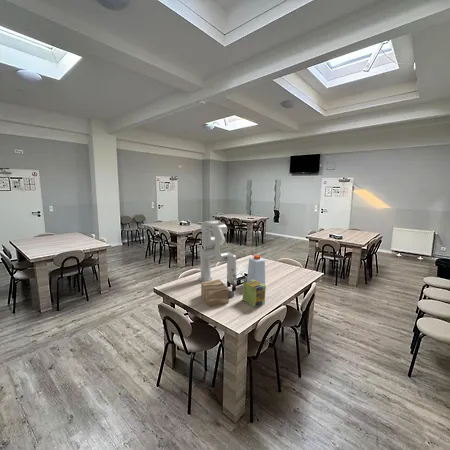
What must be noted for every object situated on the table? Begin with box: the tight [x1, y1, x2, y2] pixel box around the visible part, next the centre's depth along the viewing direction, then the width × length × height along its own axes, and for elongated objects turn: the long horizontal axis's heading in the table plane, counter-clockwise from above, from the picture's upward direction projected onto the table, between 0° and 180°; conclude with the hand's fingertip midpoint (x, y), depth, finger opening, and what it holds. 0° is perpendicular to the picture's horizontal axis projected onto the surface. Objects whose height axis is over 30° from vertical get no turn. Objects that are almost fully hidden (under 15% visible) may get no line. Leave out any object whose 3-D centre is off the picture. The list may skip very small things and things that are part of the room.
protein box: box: [242, 279, 266, 308], centre depth 191 cm, size 10×15×16 cm
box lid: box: [200, 279, 230, 293], centre depth 193 cm, size 20×16×1 cm
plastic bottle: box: [246, 254, 266, 285], centre depth 223 cm, size 15×15×28 cm
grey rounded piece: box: [228, 288, 236, 298], centre depth 201 cm, size 6×6×5 cm
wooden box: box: [200, 284, 229, 307], centre depth 194 cm, size 20×16×11 cm
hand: (231, 289), depth 200 cm, fingers open, 9 cm apart
